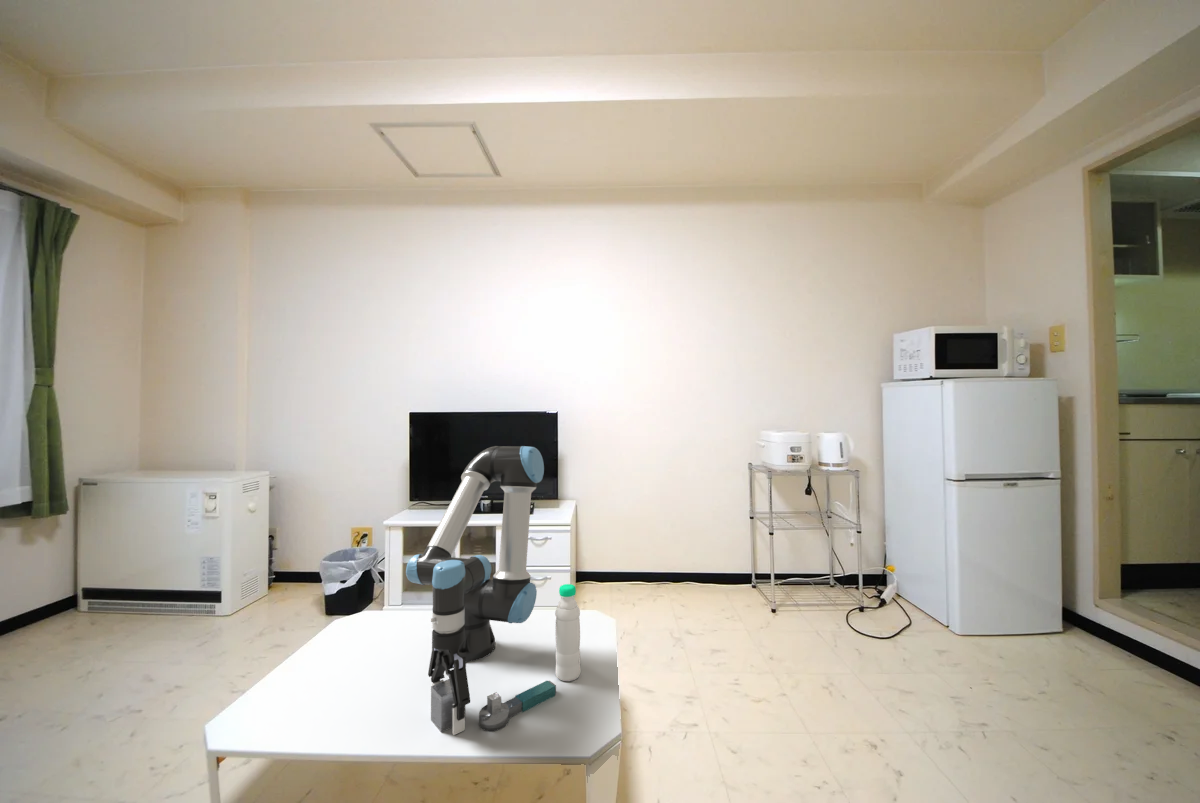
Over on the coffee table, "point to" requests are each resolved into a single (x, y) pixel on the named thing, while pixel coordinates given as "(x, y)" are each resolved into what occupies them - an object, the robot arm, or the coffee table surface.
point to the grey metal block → (442, 705)
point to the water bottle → (567, 635)
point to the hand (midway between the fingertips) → (447, 719)
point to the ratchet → (512, 706)
